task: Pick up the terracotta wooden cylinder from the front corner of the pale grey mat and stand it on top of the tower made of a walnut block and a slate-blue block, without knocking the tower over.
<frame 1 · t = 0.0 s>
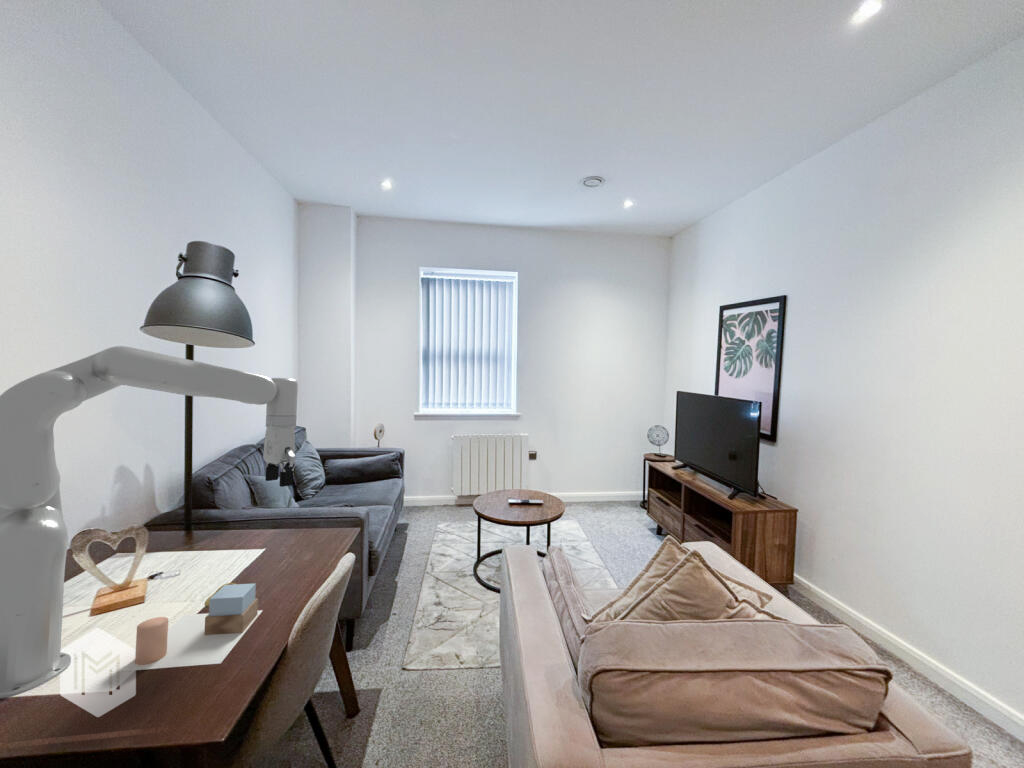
hand: (278, 483, 115), 31 cm above the table, tool pointing down, fingers open, 9 cm apart
tower base: (232, 624, 99), point 1 cm above the table, touching mat, tower top
tower top: (232, 607, 99), point 5 cm above the table, touching tower base
cylinder: (151, 657, 86), point 1 cm above the table, touching mat
fossil: (231, 601, 112), on the table
mat: (200, 639, 94), on the table
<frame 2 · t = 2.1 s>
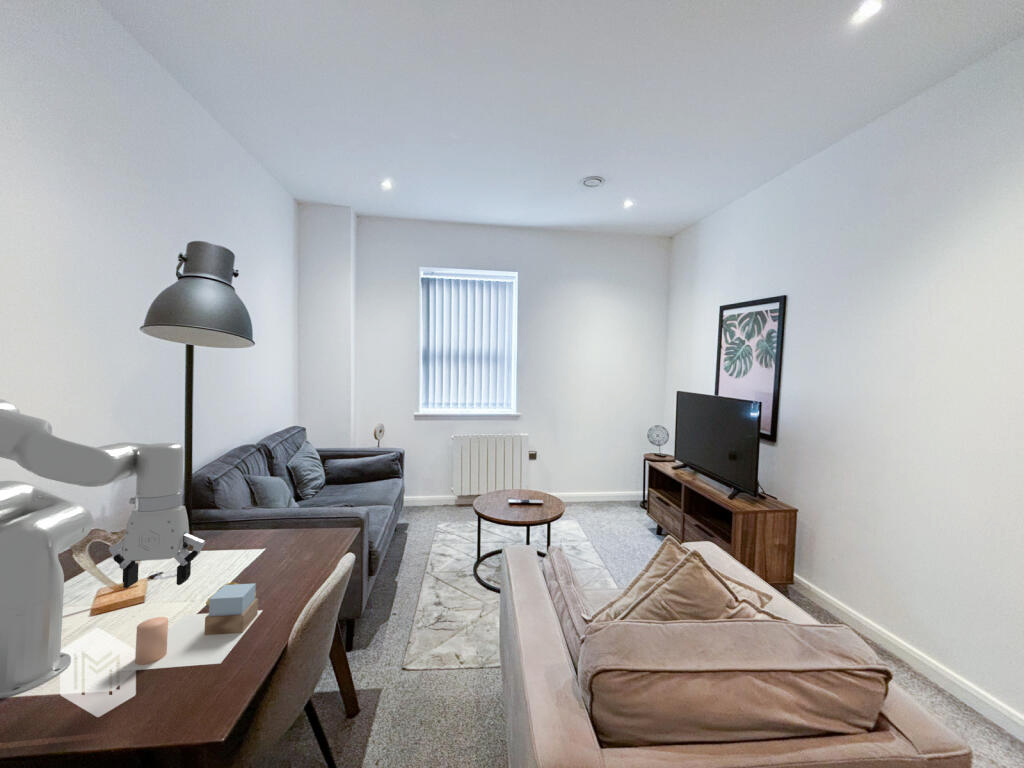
hand: (157, 583, 87), 16 cm above the table, tool pointing down, fingers open, 9 cm apart
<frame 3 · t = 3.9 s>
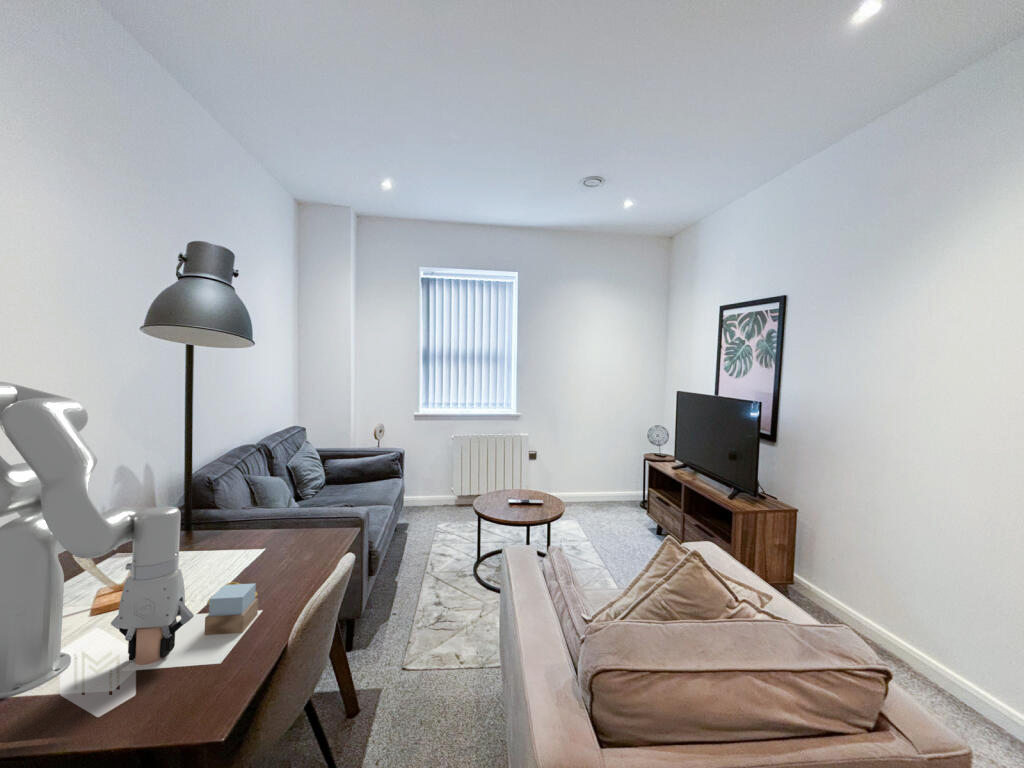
hand: (151, 654, 86), 1 cm above the table, tool pointing down, fingers closed on cylinder, 4 cm apart
cylinder: (151, 657, 86), point 1 cm above the table, touching gripper, mat
everything else where it was.
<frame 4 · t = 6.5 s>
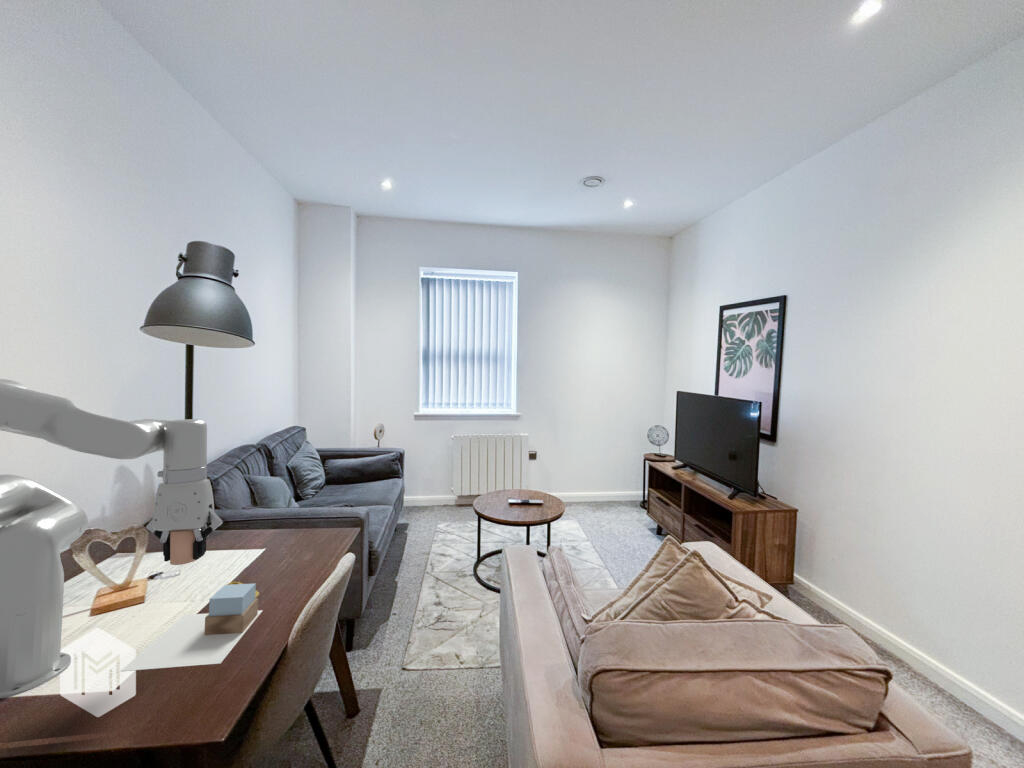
hand: (185, 557, 91), 20 cm above the table, tool pointing down, fingers closed on cylinder, 4 cm apart
cylinder: (184, 560, 91), point 19 cm above the table, touching gripper
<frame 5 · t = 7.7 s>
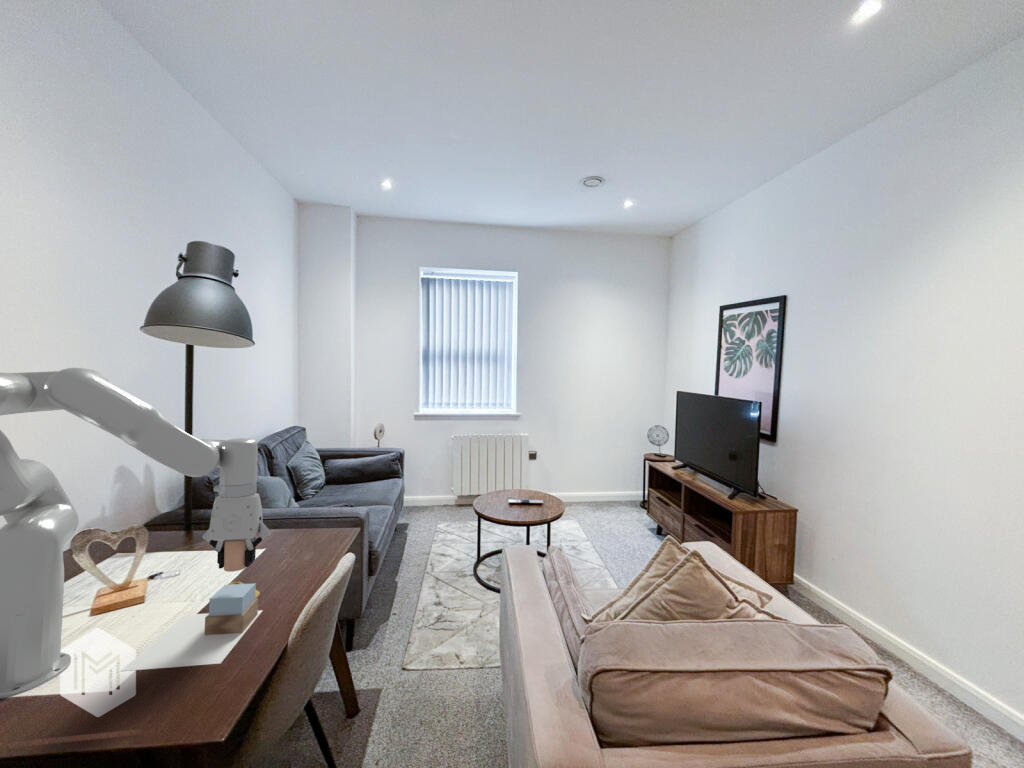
hand: (236, 564, 100), 15 cm above the table, tool pointing down, fingers closed on cylinder, 4 cm apart
cylinder: (236, 567, 100), point 14 cm above the table, touching gripper
when the fingers open (11 cm above the table, at t = 8.9 s): cylinder drops 1 cm, resting on tower top.
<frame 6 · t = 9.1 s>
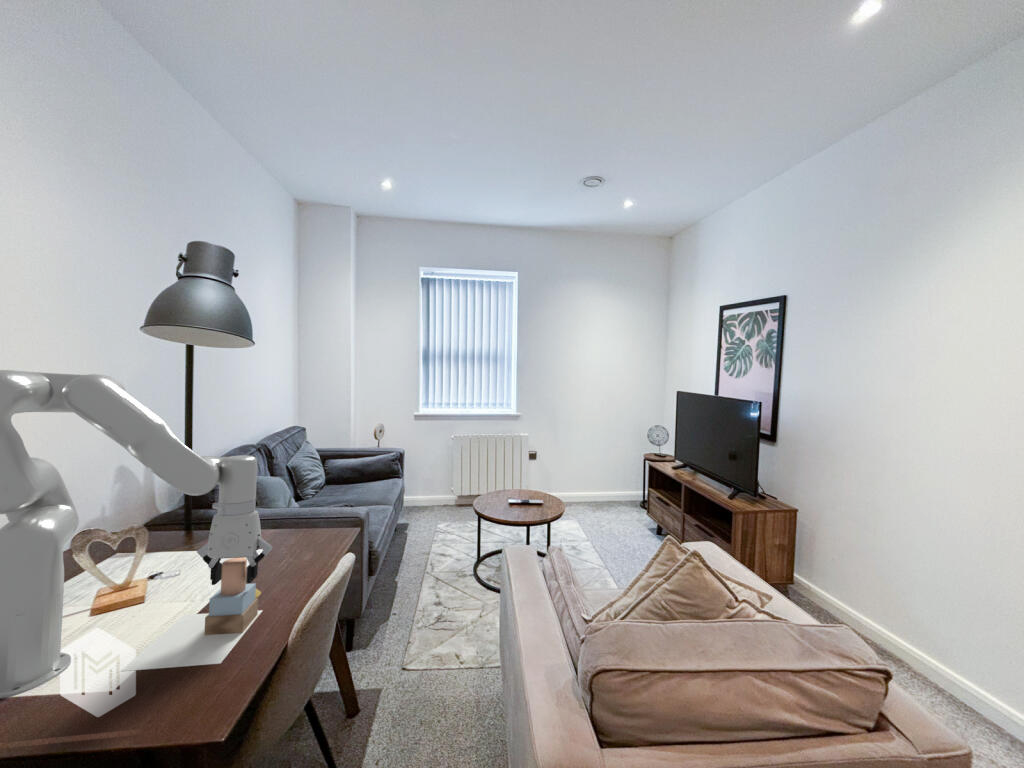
hand: (234, 581, 99), 11 cm above the table, tool pointing down, fingers open, 7 cm apart
tower top: (232, 607, 99), point 5 cm above the table, touching cylinder, tower base
cylinder: (233, 590, 99), point 9 cm above the table, touching tower top
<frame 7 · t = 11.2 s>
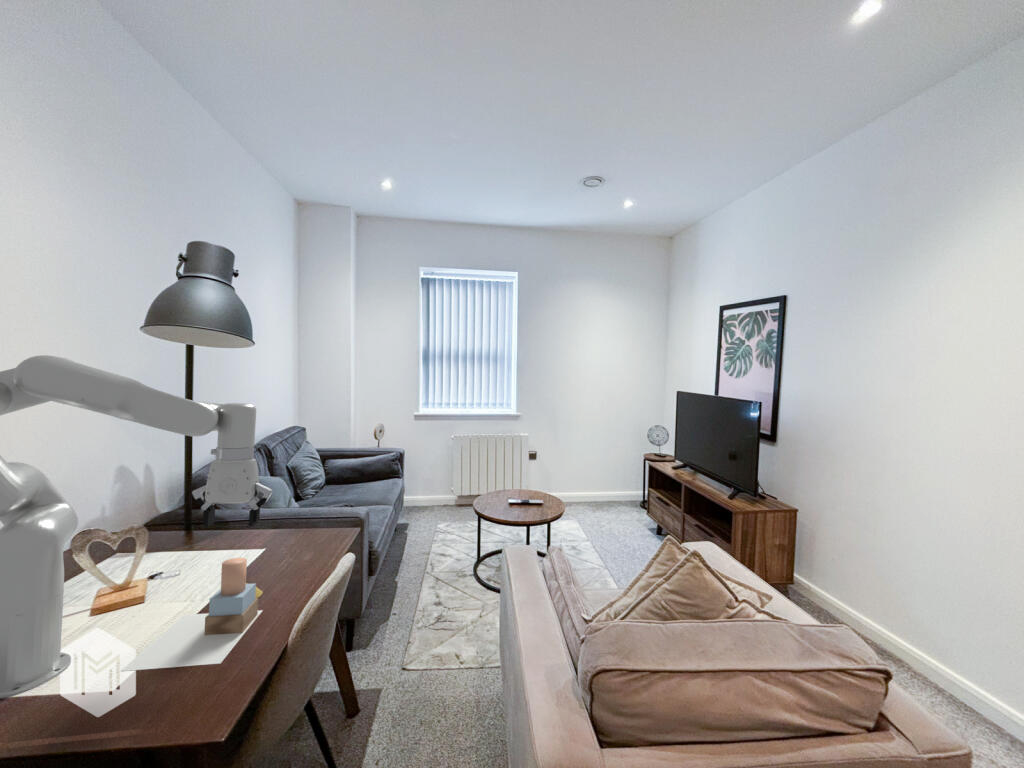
hand: (231, 525, 99), 24 cm above the table, tool pointing down, fingers open, 9 cm apart
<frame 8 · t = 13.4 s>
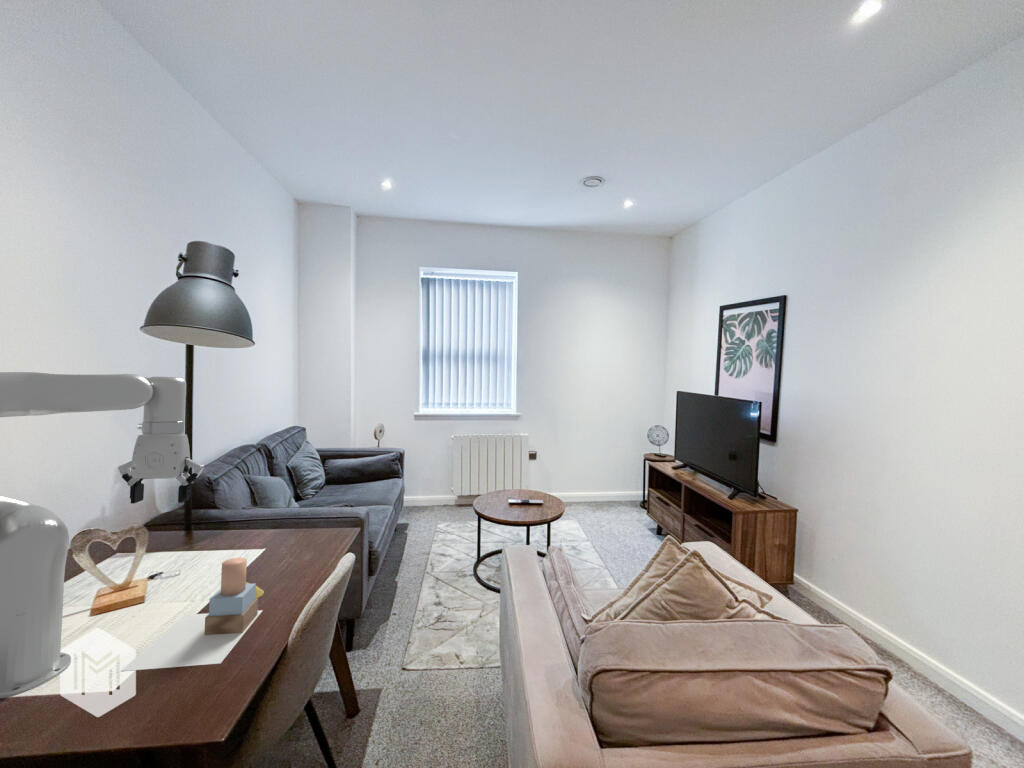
hand: (160, 501, 97), 30 cm above the table, tool pointing down, fingers open, 9 cm apart
at the end: cylinder 0.1 cm off-centre on the tower base, point 8.0 cm above the tower base's base; tower top 0.0 cm from the tower base (horizontally); cylinder tilted 0° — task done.
